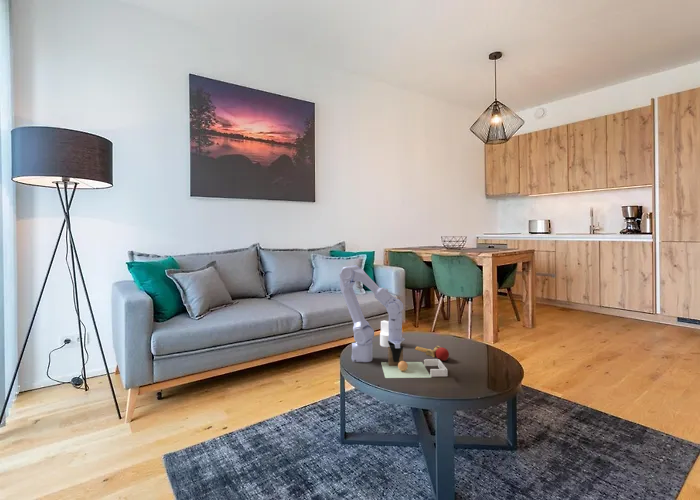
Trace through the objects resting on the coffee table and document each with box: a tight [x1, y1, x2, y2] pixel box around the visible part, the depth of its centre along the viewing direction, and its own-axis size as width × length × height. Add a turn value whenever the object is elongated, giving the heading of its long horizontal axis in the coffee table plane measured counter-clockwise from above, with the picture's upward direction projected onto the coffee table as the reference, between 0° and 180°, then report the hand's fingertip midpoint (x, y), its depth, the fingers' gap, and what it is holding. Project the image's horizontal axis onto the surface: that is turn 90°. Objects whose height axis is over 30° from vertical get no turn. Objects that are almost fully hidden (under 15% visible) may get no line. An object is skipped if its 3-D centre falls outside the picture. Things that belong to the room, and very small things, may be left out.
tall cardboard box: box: [387, 347, 404, 366], centre depth 145 cm, size 6×4×7 cm, turn 90°
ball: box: [398, 360, 408, 371], centre depth 138 cm, size 4×4×4 cm
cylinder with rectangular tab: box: [379, 320, 390, 348], centre depth 178 cm, size 9×9×12 cm
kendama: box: [414, 345, 450, 362], centre depth 158 cm, size 8×6×18 cm
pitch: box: [380, 358, 449, 379], centre depth 139 cm, size 24×17×4 cm
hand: (395, 359), depth 145 cm, fingers closed on tall cardboard box, 4 cm apart
